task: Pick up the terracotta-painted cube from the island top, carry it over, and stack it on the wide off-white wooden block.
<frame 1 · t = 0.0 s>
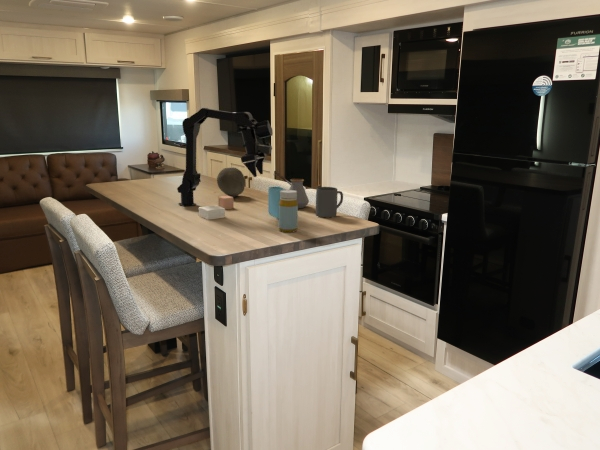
hand: (258, 175, 210), 15 cm above the table, tool pointing down, fingers open, 9 cm apart
coffee pot: (289, 205, 225), on the table
terracotta cube: (226, 207, 216), on the table
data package: (277, 216, 202), on the table
base block: (211, 217, 198), on the table
mug: (330, 215, 205), on the table
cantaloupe: (231, 196, 243), on the table
bottle: (287, 230, 178), on the table
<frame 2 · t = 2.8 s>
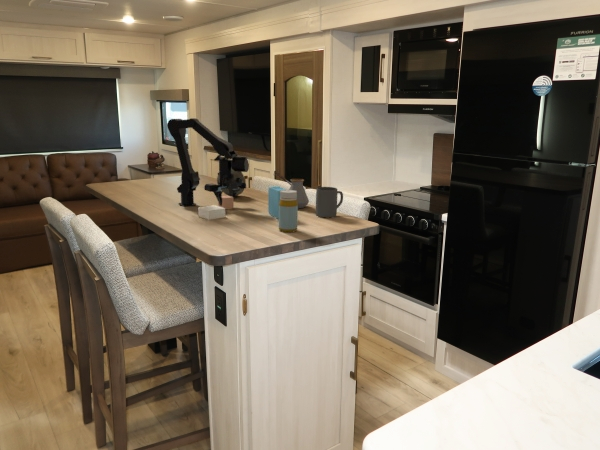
hand: (226, 204, 216), 1 cm above the table, tool pointing down, fingers closed on terracotta cube, 5 cm apart
terracotta cube: (226, 207, 216), on the table, touching gripper
everything else where it was.
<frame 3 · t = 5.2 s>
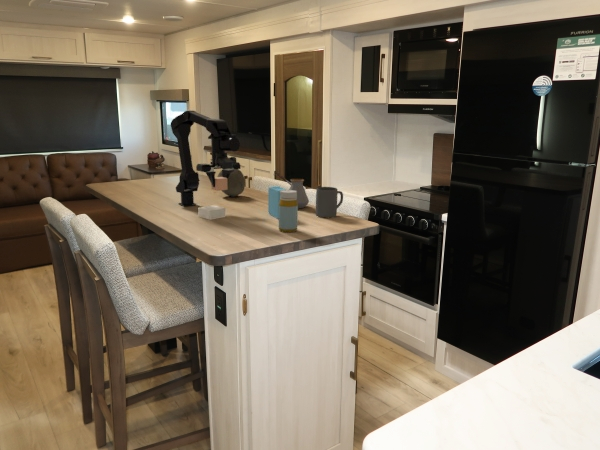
hand: (219, 186, 204), 11 cm above the table, tool pointing down, fingers closed on terracotta cube, 5 cm apart
terracotta cube: (219, 189, 204), point 10 cm above the table, touching gripper
everything else where it was.
when the fingers open (7 cm above the table, at t = 7.6 s): terracotta cube drops 2 cm, resting on base block.
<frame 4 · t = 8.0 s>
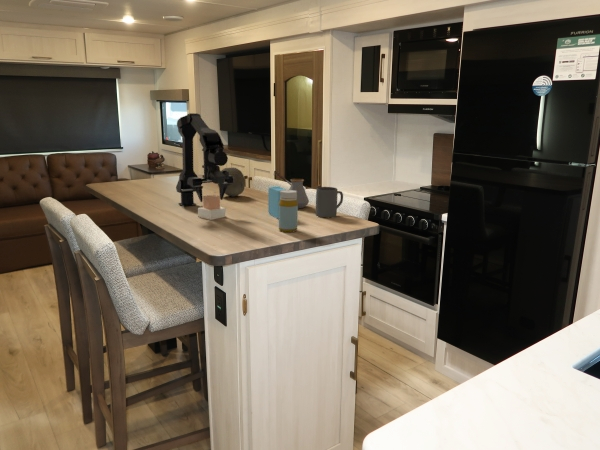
hand: (211, 200, 196), 7 cm above the table, tool pointing down, fingers open, 9 cm apart
terracotta cube: (211, 208, 197), point 4 cm above the table, touching base block
base block: (211, 217, 198), on the table, touching terracotta cube
everything else where it was.
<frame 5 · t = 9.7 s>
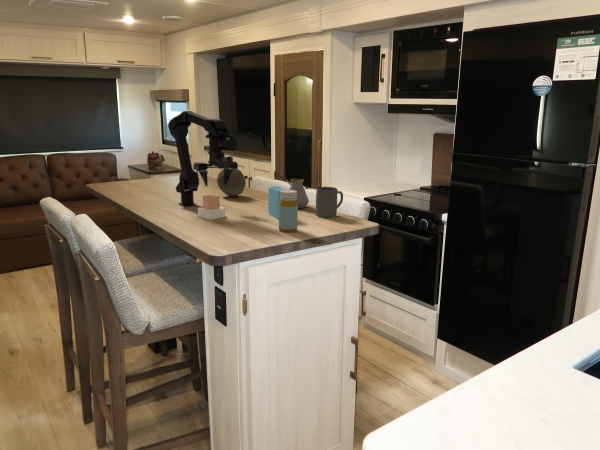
hand: (216, 185, 206), 11 cm above the table, tool pointing down, fingers open, 9 cm apart
nothing on the table moved.
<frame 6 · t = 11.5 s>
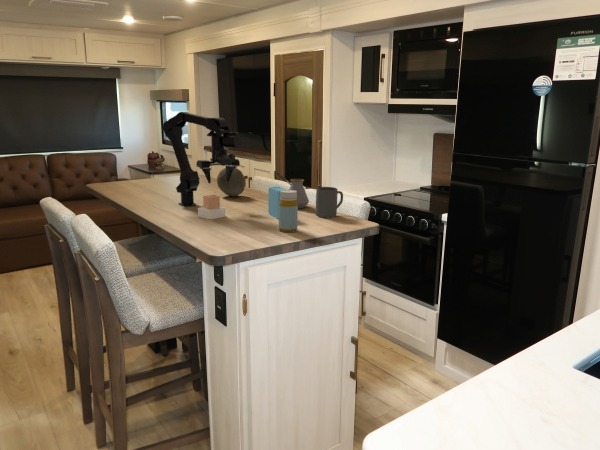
hand: (218, 182, 210), 12 cm above the table, tool pointing down, fingers open, 9 cm apart
nothing on the table moved.
at the end: terracotta cube 0.4 cm off-centre on the base block, point 4.0 cm above the base block's base; terracotta cube tilted 0°; the gripper is holding nothing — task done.
